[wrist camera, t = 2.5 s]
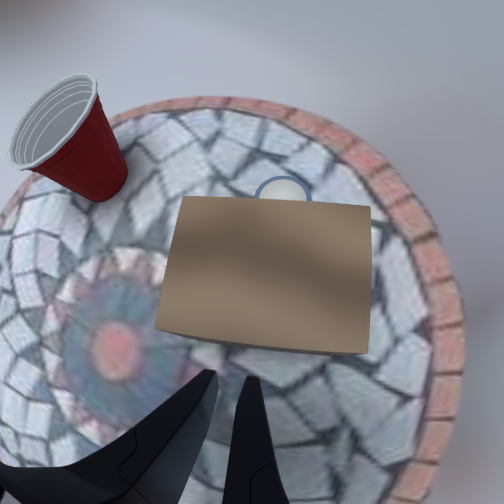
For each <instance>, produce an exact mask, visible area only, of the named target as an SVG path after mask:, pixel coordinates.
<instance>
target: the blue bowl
mask: <svg viewBox="0 0 504 504" xmlns="http://www.w3.org/2000/svg"><path fill="white" fill-rule="evenodd" d="M254 198H260V199H280V200H296V201H311V202H312V199H311V194H310V191H309V189H308V188H307V186H306V185H305V184H304V183H303V182H301V181H300V180H298V179H296V178H293V177H290V176H277V177H273V178H270V179H268V180H266V181H265V182H264V183H262V184H261V185H260V186H259V188H258V189H257V191H256V193H255V196H254Z"/></svg>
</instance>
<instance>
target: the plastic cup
mask: <svg viewBox="0 0 504 504" xmlns="http://www.w3.org/2000/svg"><path fill="white" fill-rule="evenodd" d="M7 155H8V160H9V164H10V166H12V167H14V168H16V169H18V170H21V171H23V170H31V171H33V172H37V173H39V174H41V175H44V176H46V177H48V178H49V179H51V180H53V181H55V182H57V183H58V184H60V185H62V186H64V187H66V188H68V189H69V190H72V191H74V192H76V193H78V194H80V195H82V196H83V197H85V198H87V199H89V200H91V201H95V202H101V201H105V200H107V199H109V198H111V197H113V196H114V195H115V194H116V193H117V192H118V191H119V190H120V189H121V187H122V186H123V184H124V183H125V180H126V177H127V166H126V162H125V160H124V158H123V155H122V153H121V151H120V149H119V145H118V143H117V140H116V138H115V136H114V134H113V132H112V129H111V127H110V125H109V123H108V120H107V118H106V116H105V114H104V111H103V109H102V105H101V102H100V100H99V95H98V93H97V80H96V78H95V77H93V76H92V75H91V74H90V73H75V74H72V75H70V76H67V77H65V78H62V79H61V80H59V81H58V82H56V83H55V84H53V85H52V86H50V87H49V88H47V89H46V90H45V91H44V92H43V93H42V94H41V95H40V96H39V97H38V98H37V99H36V100H35V101H34V102H33V103H32V104H31V105H30V106H29V108H28V109H27V110H26V112H25V113H24V114H23V116H22V117H21V119H20V120H19V122H18V124H17V125H16V128H15V130H14V132H13V134H12V136H11V138H10V143H9V148H8V152H7Z"/></svg>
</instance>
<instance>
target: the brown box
mask: <svg viewBox="0 0 504 504" xmlns="http://www.w3.org/2000/svg"><path fill="white" fill-rule="evenodd" d="M371 278H372V245H371V212H370V206H361V205H350V204H338V203H325V202H311V201H296V200H280V199H260V198H236V197H203V196H183V198H182V202H181V206H180V210H179V214H178V218H177V222H176V226H175V230H174V235H173V239H172V243H171V248H170V252H169V257H168V261H167V266H166V271H165V275H164V280H163V285H162V290H161V295H160V301H159V306H158V311H157V317H156V323H155V328H154V329H157V330H160V331H164V332H168V333H171V334H175V335H179V336H183V337H187V338H191V339H195V340H199V341H205V342H211V343H217V344H224V345H231V346H239V347H246V348H254V349H263V350H272V351H281V352H292V353H303V354H316V355H330V356H349V355H358V354H367V353H368V342H369V328H370V310H371Z"/></svg>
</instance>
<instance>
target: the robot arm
mask: <svg viewBox="0 0 504 504" xmlns="http://www.w3.org/2000/svg"><path fill="white" fill-rule="evenodd" d="M217 393H218V379H217V372H216V371H215V370H210V369H204V370H202V371H201V372H200V373H199V374H197V375H196V376H195V377H194V378H193V379H192V380H190V381H189V382H188V383H187V384H186V385H184V386H183V387H182V388H181V389H180V390H178V391H177V392H176V393H175V394H174V395H172V396H171V397H170V398H169V399H167V400H166V401H165V402H164V403H163V404H161V405H160V406H159V407H158V408H156V409H155V410H154V411H153V412H151V413H150V414H149V415H148V416H146V417H145V418H144V419H143V420H141V421H140V422H139V423H137V424H136V425H135V426H134V427H135V428H134V427H132V428H131V429H130V430H128V431H127V432H126V433H124V434H123V435H121V436H120V437H119V438H117V439H116V440H114V441H113V442H111V443H110V444H108V445H106V446H105V447H103V448H101V449H99V450H98V451H96V452H94V453H92V454H90V455H89V456H87V457H85V458H83V459H81V460H79V461H77V462H75V463H73V464H70V465H67V466H62V467H12V466H8V465H6V464H4V463H2V462H1V461H0V504H178V502H179V500H180V497H181V495H182V493H183V490H184V488H185V486H186V483H187V481H188V478H189V476H190V473H191V471H192V469H193V466H194V464H195V461H196V459H197V456H198V454H199V451H200V449H201V447H202V444H203V442H204V439H205V437H206V434H207V431H208V429H209V425H210V421H211V417H212V413H213V409H214V405H215V401H216V397H217ZM222 504H290V503H289V501H288V498H287V496H286V493H285V491H284V488H283V485H282V482H281V479H280V475H279V471H278V467H277V462H276V459H275V453H274V448H273V443H272V439H271V434H270V429H269V424H268V419H267V414H266V409H265V405H264V400H263V395H262V390H261V385H260V380H259V377H256V376H247V377H246V379H245V382H244V385H243V388H242V390H241V393H240V396H239V399H238V402H237V406H236V412H235V419H234V426H233V433H232V440H231V447H230V454H229V460H228V467H227V474H226V481H225V488H224V495H223V501H222Z"/></svg>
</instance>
